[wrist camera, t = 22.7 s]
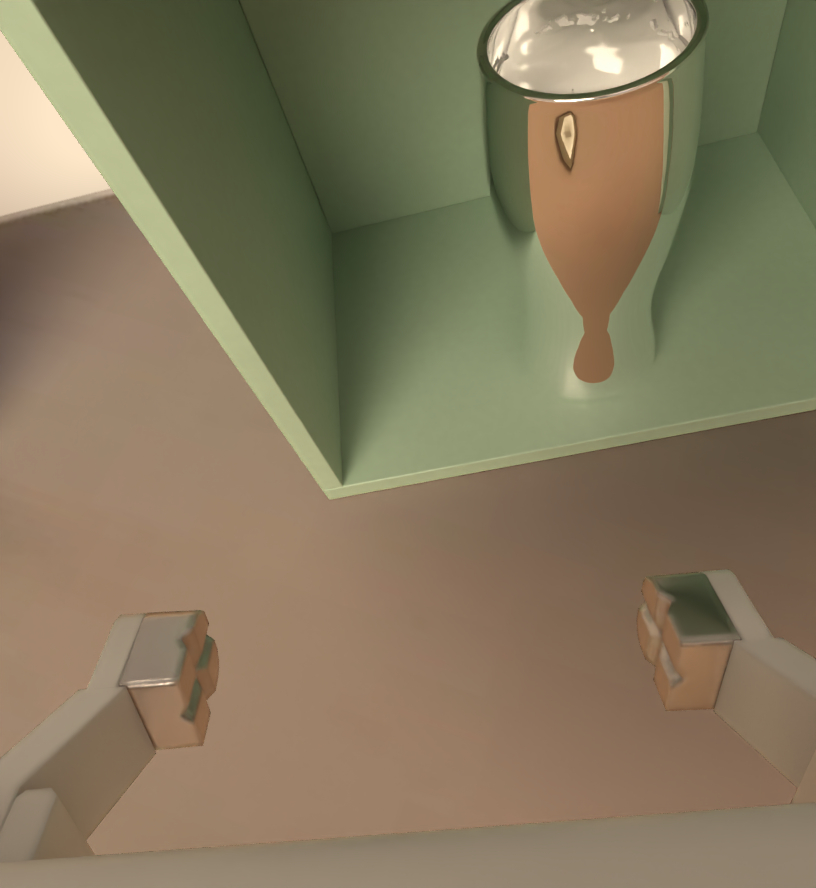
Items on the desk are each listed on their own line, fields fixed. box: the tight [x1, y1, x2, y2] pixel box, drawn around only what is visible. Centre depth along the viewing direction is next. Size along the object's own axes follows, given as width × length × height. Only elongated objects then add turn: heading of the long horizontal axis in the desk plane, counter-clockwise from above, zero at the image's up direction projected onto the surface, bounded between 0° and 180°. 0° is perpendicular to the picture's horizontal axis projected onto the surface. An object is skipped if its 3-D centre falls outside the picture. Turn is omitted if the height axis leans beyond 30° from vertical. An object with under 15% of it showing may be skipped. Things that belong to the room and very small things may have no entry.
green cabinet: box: [0, 0, 816, 499], centre depth 26 cm, size 18×26×24 cm
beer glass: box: [476, 0, 710, 402], centre depth 26 cm, size 7×7×15 cm
